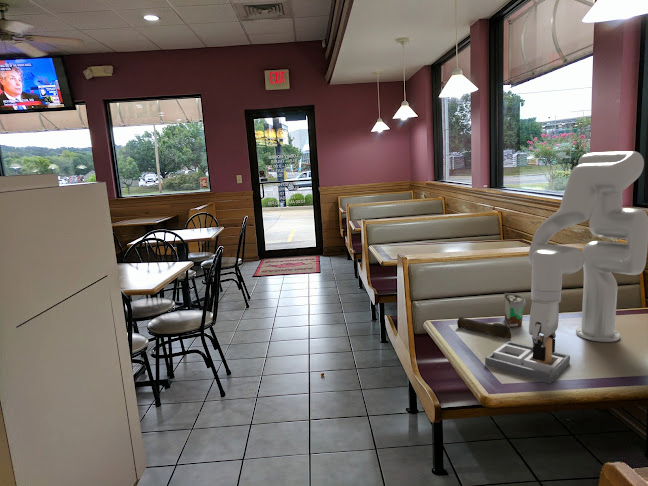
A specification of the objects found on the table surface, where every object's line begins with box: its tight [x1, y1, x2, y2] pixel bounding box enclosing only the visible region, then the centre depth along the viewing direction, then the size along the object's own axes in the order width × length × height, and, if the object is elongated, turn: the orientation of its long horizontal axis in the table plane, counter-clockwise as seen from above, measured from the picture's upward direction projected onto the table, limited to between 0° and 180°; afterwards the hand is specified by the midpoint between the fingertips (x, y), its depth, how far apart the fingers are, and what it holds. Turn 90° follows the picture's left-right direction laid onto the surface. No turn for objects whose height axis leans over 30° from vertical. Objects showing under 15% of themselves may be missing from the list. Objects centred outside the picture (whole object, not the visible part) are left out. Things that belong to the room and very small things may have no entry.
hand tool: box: [456, 316, 512, 339], centre depth 161 cm, size 19×4×5 cm, turn 43°
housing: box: [484, 340, 571, 384], centre depth 136 cm, size 16×18×3 cm
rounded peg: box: [536, 337, 552, 365], centre depth 132 cm, size 4×4×8 cm
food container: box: [504, 292, 527, 329], centre depth 168 cm, size 12×6×10 cm, turn 168°
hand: (543, 354), depth 132 cm, fingers open, 6 cm apart
